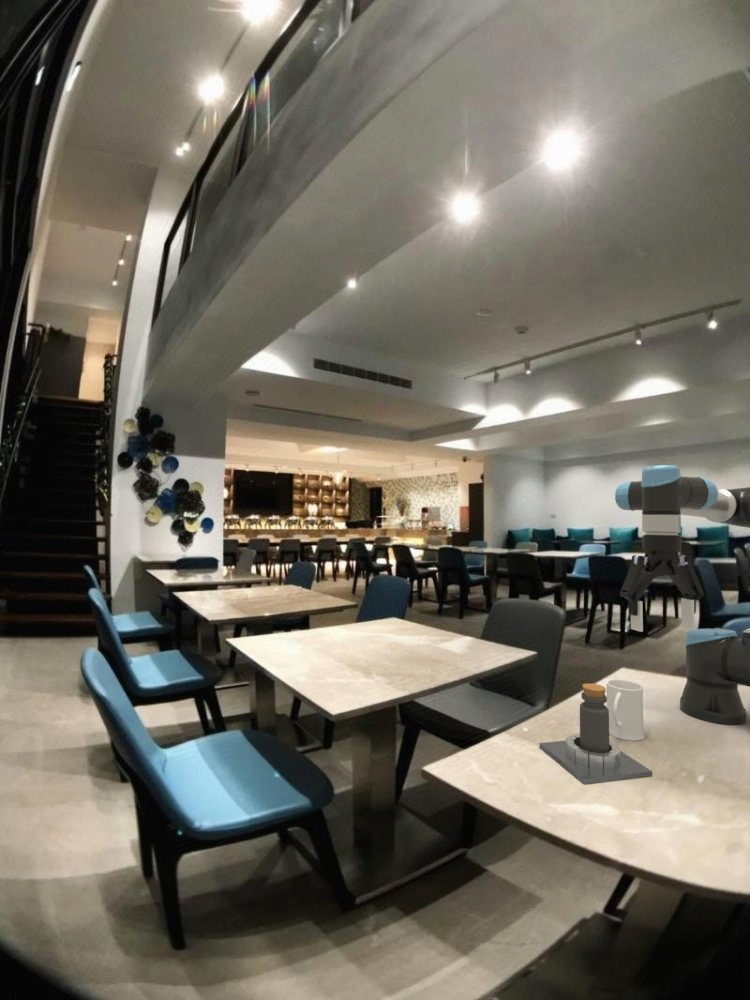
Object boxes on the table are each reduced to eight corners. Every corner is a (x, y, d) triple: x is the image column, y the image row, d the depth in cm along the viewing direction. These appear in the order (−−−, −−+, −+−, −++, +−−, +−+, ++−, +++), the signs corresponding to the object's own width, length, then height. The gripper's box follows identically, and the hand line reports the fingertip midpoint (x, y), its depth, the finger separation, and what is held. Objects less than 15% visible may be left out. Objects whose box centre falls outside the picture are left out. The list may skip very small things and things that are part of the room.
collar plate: (599, 741, 114) (599, 726, 114) (652, 776, 99) (651, 758, 99) (539, 747, 111) (539, 732, 111) (584, 784, 95) (584, 766, 95)
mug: (630, 748, 111) (629, 696, 111) (593, 735, 117) (593, 686, 118) (650, 734, 119) (649, 685, 119) (614, 723, 125) (614, 676, 126)
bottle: (607, 765, 101) (606, 693, 101) (577, 757, 104) (577, 687, 105) (611, 754, 106) (610, 685, 106) (582, 747, 109) (582, 680, 110)
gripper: (692, 534, 114) (694, 623, 113) (601, 533, 109) (602, 627, 108) (721, 534, 107) (723, 630, 106) (626, 534, 101) (627, 635, 100)
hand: (662, 629), depth 107 cm, fingers open, 13 cm apart
